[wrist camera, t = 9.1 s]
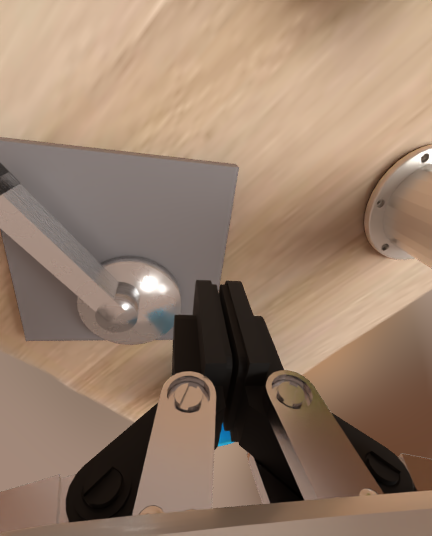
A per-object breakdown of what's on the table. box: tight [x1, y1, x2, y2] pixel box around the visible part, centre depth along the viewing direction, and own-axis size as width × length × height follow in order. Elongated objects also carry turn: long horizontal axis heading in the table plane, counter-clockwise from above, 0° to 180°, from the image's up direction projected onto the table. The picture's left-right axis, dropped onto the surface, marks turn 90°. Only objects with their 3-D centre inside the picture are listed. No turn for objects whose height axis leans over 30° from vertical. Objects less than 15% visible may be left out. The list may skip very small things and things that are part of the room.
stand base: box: [0, 137, 239, 341], centre depth 29 cm, size 20×20×2 cm
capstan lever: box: [0, 163, 181, 345], centre depth 26 cm, size 10×21×5 cm, turn 31°
